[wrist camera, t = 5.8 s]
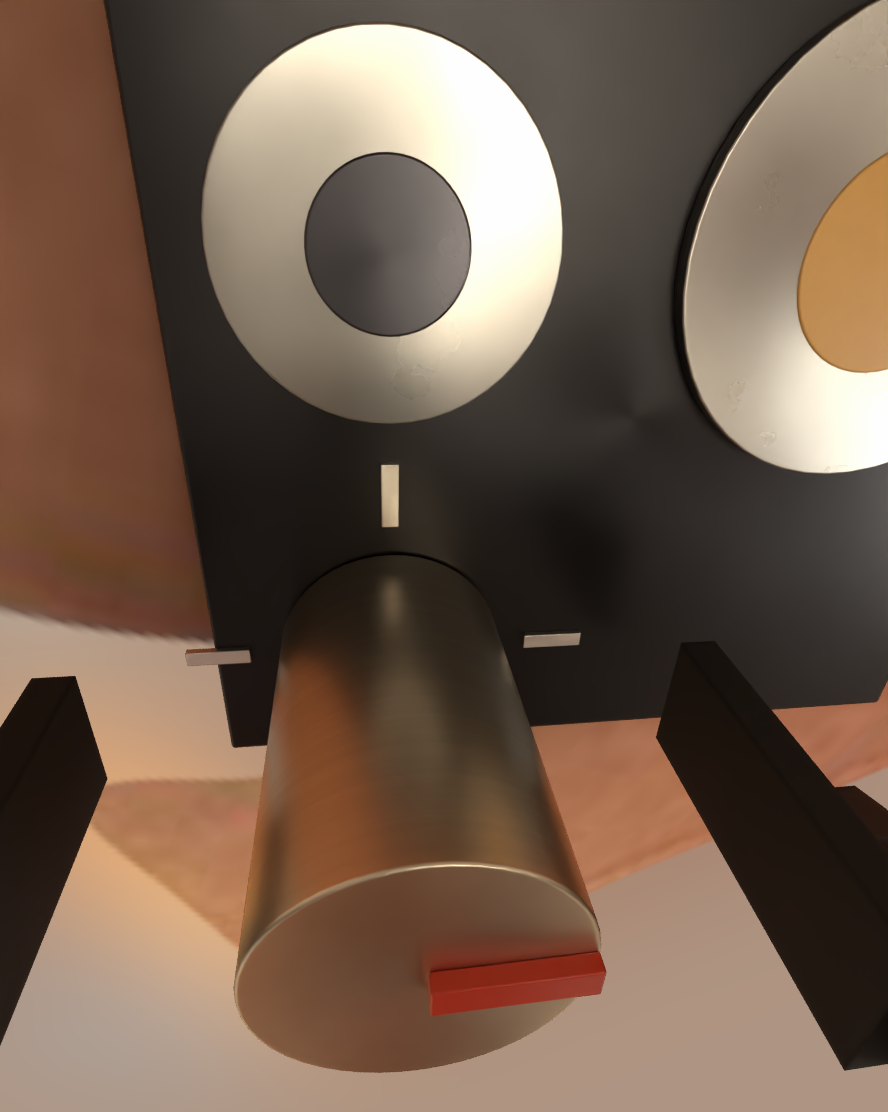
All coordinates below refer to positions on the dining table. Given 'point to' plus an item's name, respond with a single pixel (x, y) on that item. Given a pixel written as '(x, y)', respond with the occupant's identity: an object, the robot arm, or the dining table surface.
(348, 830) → the stove knob
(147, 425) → the dining table surface
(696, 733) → the robot arm
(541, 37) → the stove
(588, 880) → the dining table surface
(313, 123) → the burners
